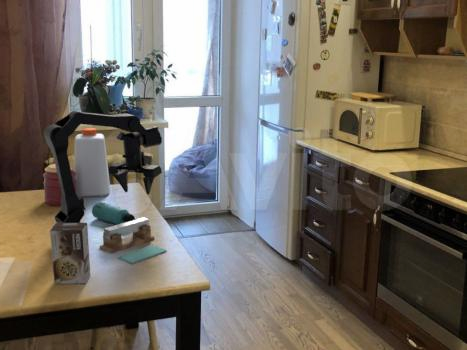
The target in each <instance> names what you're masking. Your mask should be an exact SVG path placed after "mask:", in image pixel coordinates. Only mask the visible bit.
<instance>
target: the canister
mask: <svg viewBox="0 0 467 350" xmlns="http://www.w3.org/2000/svg"><path fill="white" fill-rule="evenodd" d="M70 169H71V173H72V178H73V183H74V188H75V192H76V194H77V187H76V182H77V181H76V180H75V175H76V172H74V166H72V165H70ZM44 171H45V172H44V173H43V174H42V177H43V178H44V181H43V188H44V190H43V191H44V201H45V204H46V205H47V206H51V207H52V206H53V207H61V197H62V192H61V188H60V183H59V179H58V174H57V170H56V165H55V163H52V164H49V165H47V166H46V167H45V168H44Z"/></svg>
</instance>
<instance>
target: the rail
mask: <svg viewBox="0 0 467 350" xmlns="http://www.w3.org/2000/svg"><path fill="white" fill-rule="evenodd" d="M147 225H150V219H149V218H147V217H139V218H135V220H132V221H129V222H125V223H122V224H118V225H117V224H114V225H112V226H109V227H105V228H104V229H103V232H104V237H105V238H107V239H110V240H111V239H112V236H114V235H118V234H121V237H123V236H126V235H130V234H133V232H137V231H140V230H142V227H144V226H147Z"/></svg>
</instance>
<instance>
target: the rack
mask: <svg viewBox="0 0 467 350" xmlns="http://www.w3.org/2000/svg"><path fill="white" fill-rule="evenodd" d="M153 240H155V236H154V235H152V231H151V225H150V224H149V225H147V226H144V227H142V230H140V231H137V232H133V233H132V235H129V236H126V237H122V236H121V234H118V235H114V236H112V239H111V240H110V239H107V238H105V237H104V231H103V233H102V243H103V244H101V245H100V244H99V249H100V250H101V251H104V252H106V253H109V254H113V253H116V252H117V253H118V252H120V251H122V250H126V249H129V248H132V247H134V246H137V245H138V246H139V245H140V244H143V243H146V242H149V241H153Z"/></svg>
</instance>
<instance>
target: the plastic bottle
mask: <svg viewBox="0 0 467 350" xmlns="http://www.w3.org/2000/svg"><path fill="white" fill-rule="evenodd" d="M97 131H98V129H97V128H95V127H87V128H83V129H82V130H81V133H79V134H76V136H75V138H74V146H73V147H74V148H73V149H74V155H73V162H74V163H73V167H74V169H73V171H74V172H76V175H75V180H76V181H77V182H76V187H77V195H79V196H80V197H82V198H83V197H84V198H85V197H90V198H91V197H103V196H107V195H109V193H110V191H111V183H110V176H109V175H110V174H109V166H108V158H107V157H108V156H107V149H106V148H107V147H106V139H105V135H104V134H103V133H98V132H97Z"/></svg>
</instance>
